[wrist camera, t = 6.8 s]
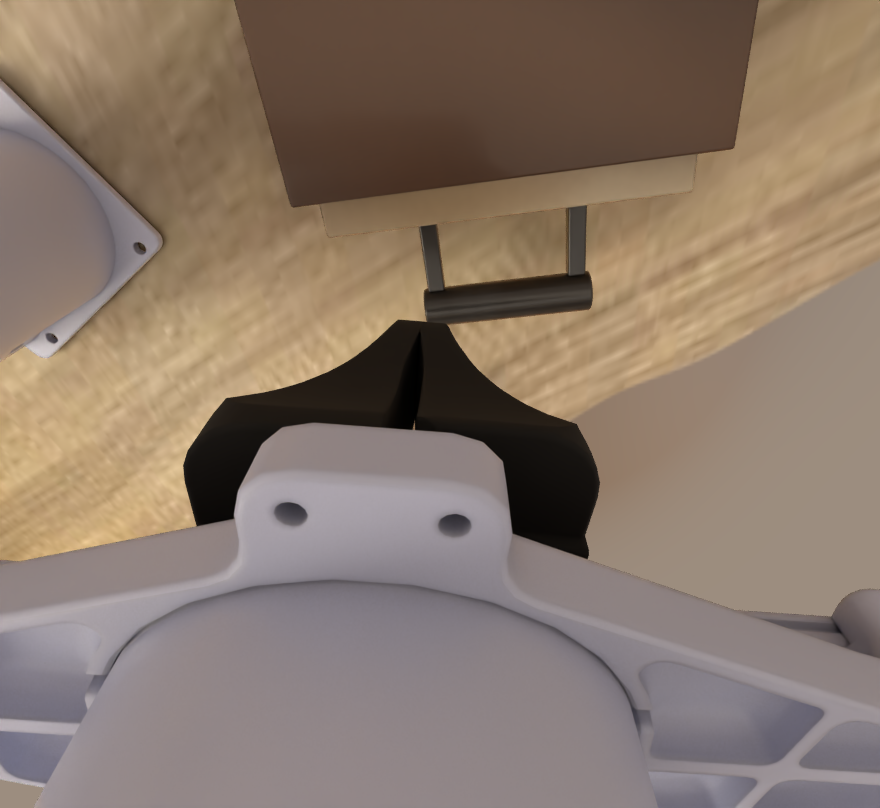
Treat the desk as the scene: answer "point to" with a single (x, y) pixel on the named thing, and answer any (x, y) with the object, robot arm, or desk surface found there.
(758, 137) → the desk surface
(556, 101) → the cabinet
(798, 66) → the desk surface
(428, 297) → the drawer
